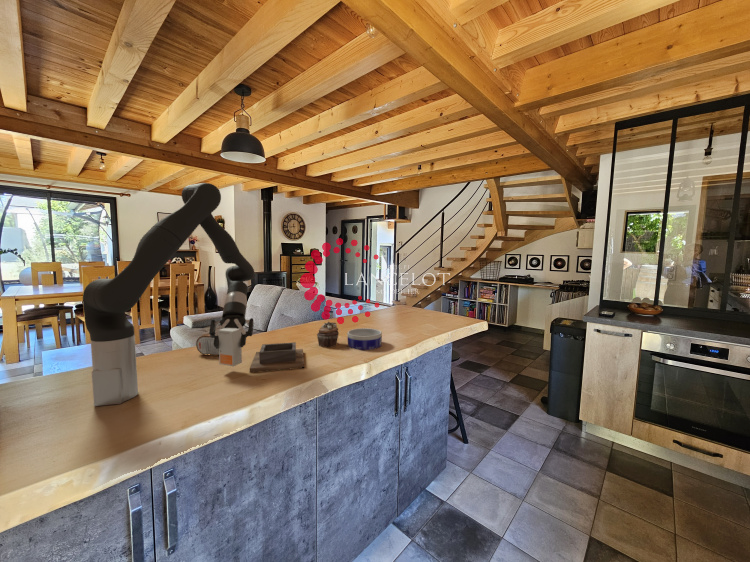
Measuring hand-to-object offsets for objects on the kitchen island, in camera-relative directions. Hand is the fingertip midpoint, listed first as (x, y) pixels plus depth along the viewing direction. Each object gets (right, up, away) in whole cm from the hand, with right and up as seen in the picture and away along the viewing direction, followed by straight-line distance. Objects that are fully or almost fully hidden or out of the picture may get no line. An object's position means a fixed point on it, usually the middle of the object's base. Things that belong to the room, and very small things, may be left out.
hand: (229, 346), depth 103 cm
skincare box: (0, -6, +2) cm, 7 cm away
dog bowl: (+44, -7, +35) cm, 57 cm away
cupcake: (+28, -7, +35) cm, 45 cm away
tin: (-15, -8, +20) cm, 26 cm away
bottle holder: (+13, -8, +13) cm, 20 cm away
